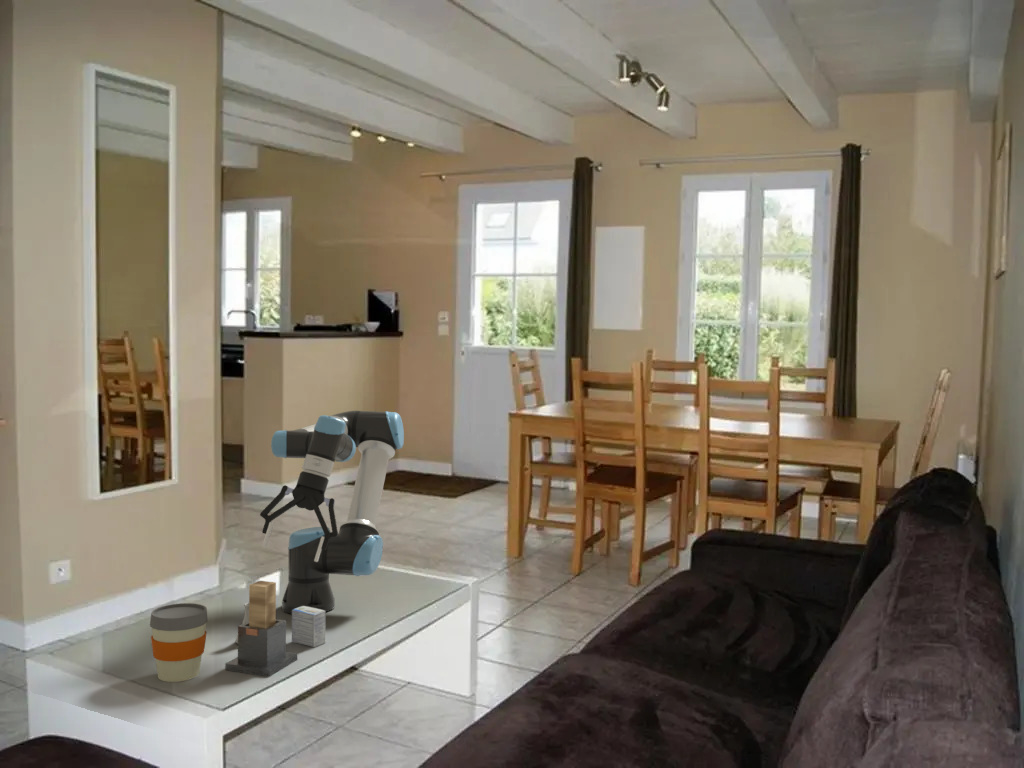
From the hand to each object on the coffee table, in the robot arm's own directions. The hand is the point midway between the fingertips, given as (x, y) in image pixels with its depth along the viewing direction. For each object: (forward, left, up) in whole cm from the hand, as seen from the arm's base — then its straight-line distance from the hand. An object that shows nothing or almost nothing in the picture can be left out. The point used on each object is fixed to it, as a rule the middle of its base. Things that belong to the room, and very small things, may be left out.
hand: (289, 554), depth 226 cm
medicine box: (-4, +3, -24) cm, 24 cm away
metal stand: (+14, +1, -23) cm, 27 cm away
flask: (+1, -11, -24) cm, 26 cm away
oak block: (+14, +1, -22) cm, 26 cm away
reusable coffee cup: (+27, -13, -24) cm, 38 cm away
